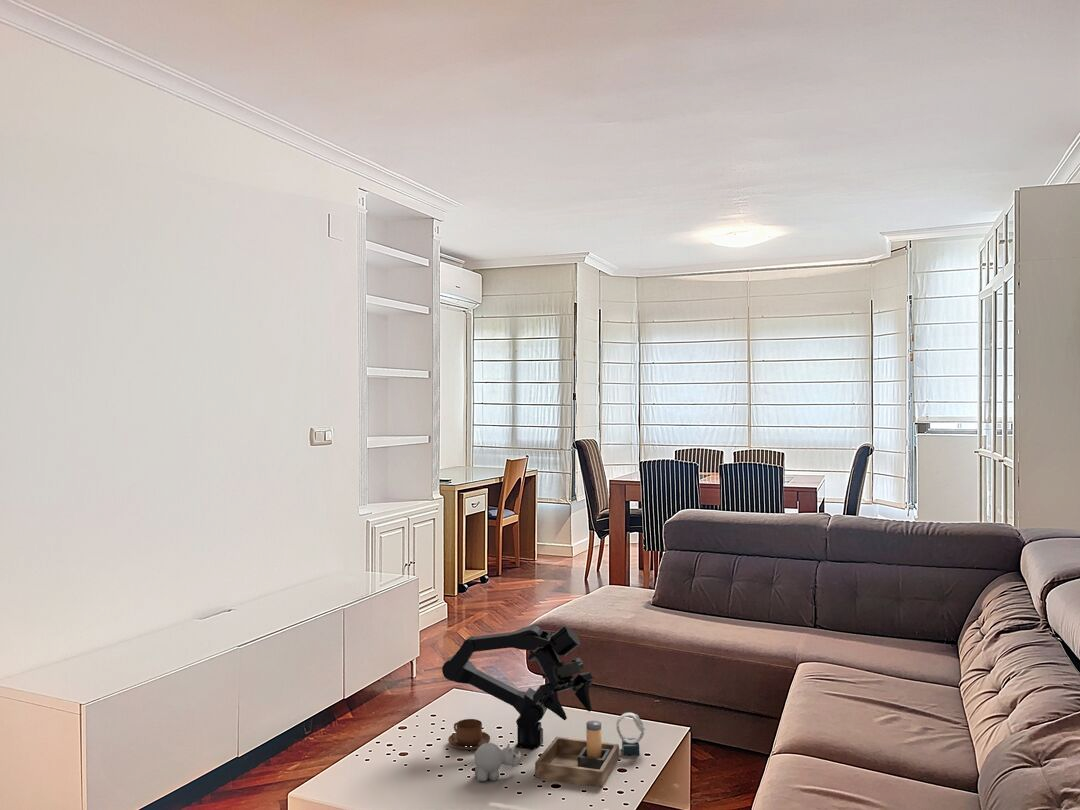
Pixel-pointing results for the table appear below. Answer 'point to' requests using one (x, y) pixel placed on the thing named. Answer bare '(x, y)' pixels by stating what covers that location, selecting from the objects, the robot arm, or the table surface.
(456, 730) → the cup and saucer
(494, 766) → the chubby cartoon animal
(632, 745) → the watch
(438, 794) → the table surface
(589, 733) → the grey-capped orange cylinder
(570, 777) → the walled box
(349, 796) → the table surface
